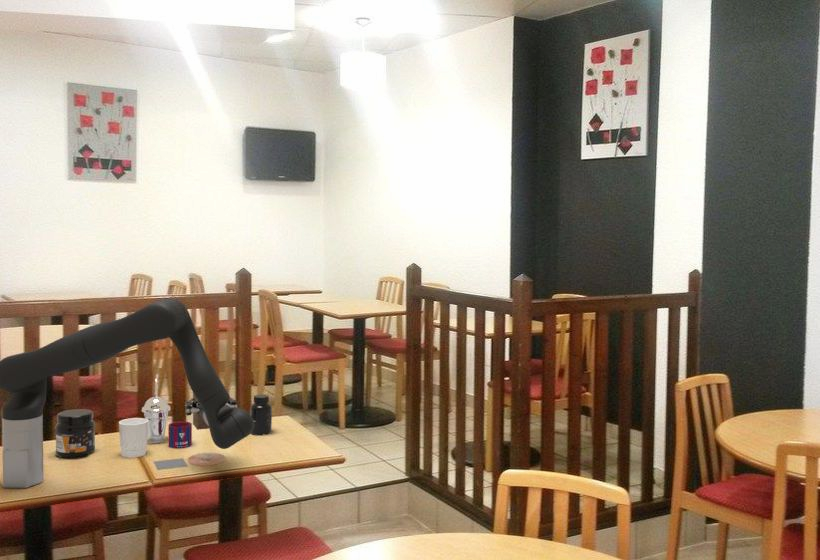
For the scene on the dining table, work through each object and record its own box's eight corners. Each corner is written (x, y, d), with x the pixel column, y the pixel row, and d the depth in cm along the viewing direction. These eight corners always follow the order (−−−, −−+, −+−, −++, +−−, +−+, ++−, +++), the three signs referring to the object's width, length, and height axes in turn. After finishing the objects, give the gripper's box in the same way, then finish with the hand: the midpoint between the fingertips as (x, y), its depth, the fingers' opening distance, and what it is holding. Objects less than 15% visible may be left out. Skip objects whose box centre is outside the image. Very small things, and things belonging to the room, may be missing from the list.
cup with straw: (136, 443, 234) (135, 378, 233) (152, 436, 243) (151, 373, 242) (161, 446, 232) (161, 380, 231) (176, 438, 241) (176, 374, 240)
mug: (170, 450, 228) (170, 428, 227) (165, 441, 237) (165, 420, 236) (193, 448, 231) (193, 425, 230) (188, 439, 240) (188, 418, 239)
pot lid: (220, 467, 213) (220, 460, 213) (183, 466, 213) (183, 459, 213) (228, 456, 223) (228, 449, 223) (193, 456, 223) (193, 449, 223)
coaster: (187, 467, 212) (187, 466, 212) (157, 471, 209) (157, 469, 209) (182, 459, 220) (182, 458, 220) (153, 462, 216) (153, 461, 216)
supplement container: (51, 460, 217) (50, 418, 216) (60, 449, 227) (59, 409, 227) (91, 458, 219) (91, 416, 218) (98, 447, 230) (98, 408, 229)
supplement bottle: (246, 434, 246) (246, 397, 246) (254, 429, 253) (254, 393, 252) (267, 436, 245) (267, 398, 245) (274, 430, 252) (274, 394, 251)
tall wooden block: (220, 427, 216) (220, 388, 215) (197, 429, 213) (197, 390, 212) (215, 422, 222) (215, 384, 221) (193, 424, 219) (192, 385, 218)
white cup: (138, 460, 218) (138, 425, 217) (113, 458, 220) (113, 423, 219) (153, 452, 226) (153, 418, 225) (129, 450, 227) (128, 417, 227)
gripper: (244, 397, 207) (230, 385, 222) (189, 402, 201) (178, 389, 216) (244, 425, 208) (230, 411, 223) (189, 430, 201) (178, 416, 216)
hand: (204, 400), depth 219 cm, fingers closed on tall wooden block, 6 cm apart
